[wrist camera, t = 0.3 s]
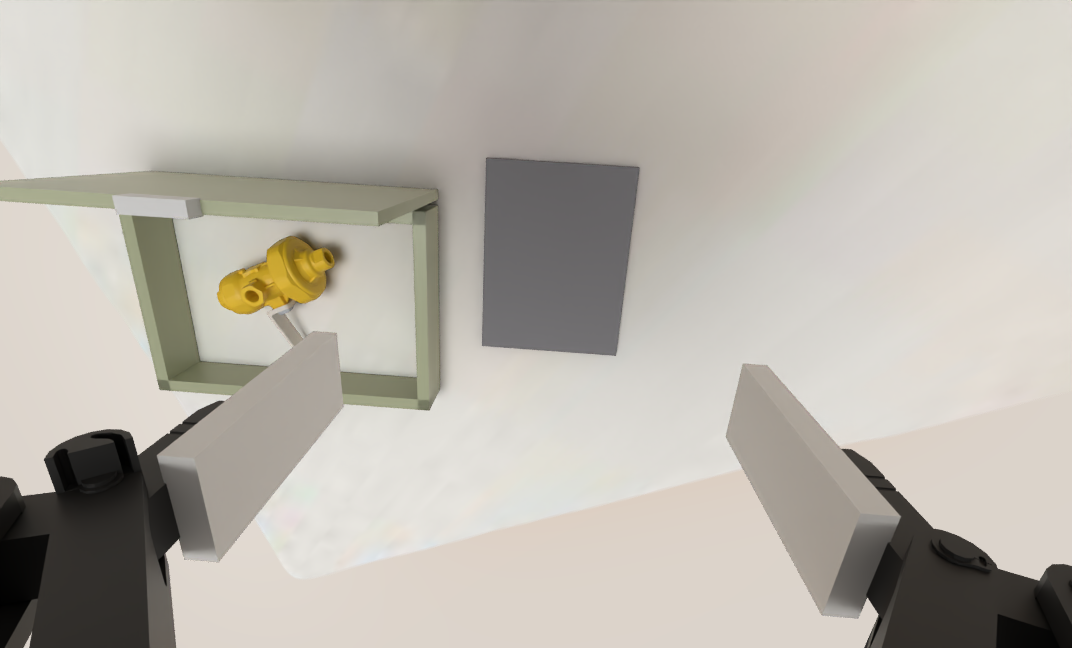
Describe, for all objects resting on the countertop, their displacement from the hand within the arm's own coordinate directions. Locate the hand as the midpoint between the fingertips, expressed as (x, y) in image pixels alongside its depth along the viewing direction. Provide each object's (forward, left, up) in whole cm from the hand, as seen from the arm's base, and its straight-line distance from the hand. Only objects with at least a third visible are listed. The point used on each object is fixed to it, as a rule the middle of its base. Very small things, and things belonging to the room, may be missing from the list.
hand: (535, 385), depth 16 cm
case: (+6, -21, -27) cm, 35 cm away
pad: (+2, +1, -27) cm, 27 cm away
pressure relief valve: (+7, -21, -27) cm, 35 cm away
